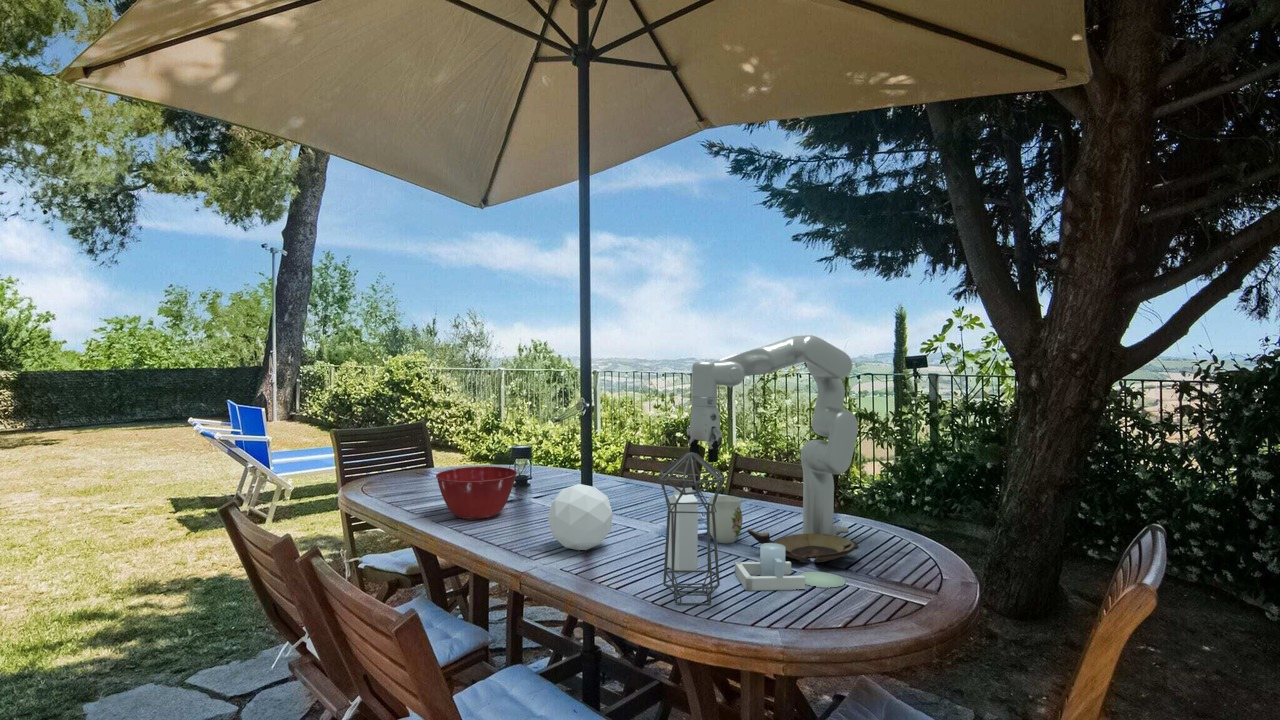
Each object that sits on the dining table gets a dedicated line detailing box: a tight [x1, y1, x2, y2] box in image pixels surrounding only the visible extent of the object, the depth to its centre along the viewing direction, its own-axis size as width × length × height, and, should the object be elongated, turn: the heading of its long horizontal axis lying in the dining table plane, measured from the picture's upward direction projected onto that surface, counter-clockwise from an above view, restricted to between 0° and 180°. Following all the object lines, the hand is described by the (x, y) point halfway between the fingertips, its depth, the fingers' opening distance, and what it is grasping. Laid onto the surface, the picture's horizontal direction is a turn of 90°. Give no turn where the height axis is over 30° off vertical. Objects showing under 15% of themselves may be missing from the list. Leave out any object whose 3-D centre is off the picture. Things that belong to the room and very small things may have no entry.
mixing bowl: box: [435, 466, 518, 520], centre depth 237 cm, size 28×28×16 cm
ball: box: [547, 483, 614, 551], centre depth 198 cm, size 19×20×20 cm
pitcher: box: [708, 495, 743, 544], centre depth 209 cm, size 11×18×14 cm, turn 148°
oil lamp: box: [746, 528, 860, 563], centre depth 191 cm, size 22×30×8 cm
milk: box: [667, 487, 699, 574], centre depth 179 cm, size 6×6×22 cm
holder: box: [734, 560, 806, 592], centre depth 170 cm, size 15×13×3 cm
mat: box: [797, 571, 846, 589], centre depth 171 cm, size 12×12×1 cm
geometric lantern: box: [658, 452, 728, 606], centre depth 158 cm, size 16×16×35 cm
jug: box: [759, 543, 786, 578], centre depth 168 cm, size 10×6×9 cm, turn 4°
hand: (703, 460), depth 196 cm, fingers open, 9 cm apart
